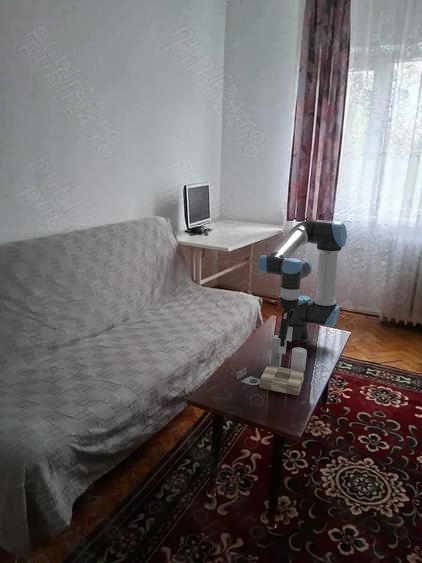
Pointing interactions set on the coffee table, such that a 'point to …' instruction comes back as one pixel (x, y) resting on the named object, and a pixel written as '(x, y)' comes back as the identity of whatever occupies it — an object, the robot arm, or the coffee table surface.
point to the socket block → (282, 380)
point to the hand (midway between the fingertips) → (285, 347)
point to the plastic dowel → (298, 359)
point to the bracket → (248, 380)
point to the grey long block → (275, 352)
